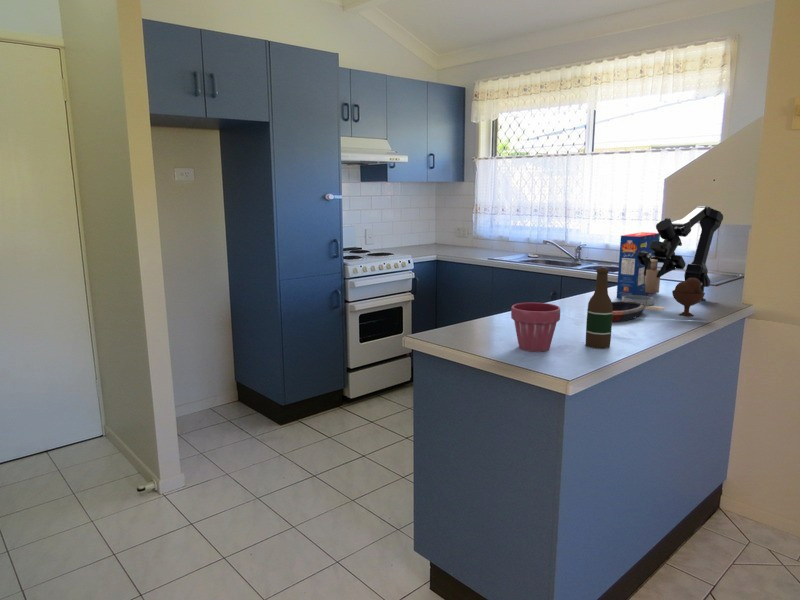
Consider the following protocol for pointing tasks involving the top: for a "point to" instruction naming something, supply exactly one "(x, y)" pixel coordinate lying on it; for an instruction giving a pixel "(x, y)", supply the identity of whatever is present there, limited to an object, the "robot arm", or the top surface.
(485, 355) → the top surface
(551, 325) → the plant pot
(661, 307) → the coaster
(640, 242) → the pasta box
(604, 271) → the beer bottle
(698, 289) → the ice cream bowl
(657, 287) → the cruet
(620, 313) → the dish
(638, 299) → the slate dish
